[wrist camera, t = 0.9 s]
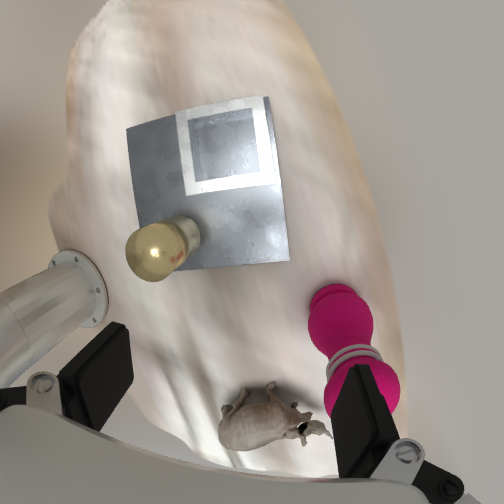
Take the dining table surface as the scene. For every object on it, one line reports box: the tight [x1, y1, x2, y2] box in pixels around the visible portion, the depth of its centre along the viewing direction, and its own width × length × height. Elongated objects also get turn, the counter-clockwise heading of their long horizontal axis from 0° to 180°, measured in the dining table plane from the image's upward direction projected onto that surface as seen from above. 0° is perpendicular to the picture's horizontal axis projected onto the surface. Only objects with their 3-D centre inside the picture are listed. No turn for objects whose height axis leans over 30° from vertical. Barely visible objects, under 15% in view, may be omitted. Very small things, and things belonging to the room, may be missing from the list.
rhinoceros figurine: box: [218, 382, 333, 451], centre depth 34 cm, size 8×14×15 cm
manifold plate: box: [126, 95, 290, 271], centre depth 30 cm, size 17×18×4 cm
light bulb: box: [126, 215, 200, 282], centre depth 28 cm, size 5×5×8 cm
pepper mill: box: [308, 284, 400, 418], centre depth 24 cm, size 7×7×20 cm
